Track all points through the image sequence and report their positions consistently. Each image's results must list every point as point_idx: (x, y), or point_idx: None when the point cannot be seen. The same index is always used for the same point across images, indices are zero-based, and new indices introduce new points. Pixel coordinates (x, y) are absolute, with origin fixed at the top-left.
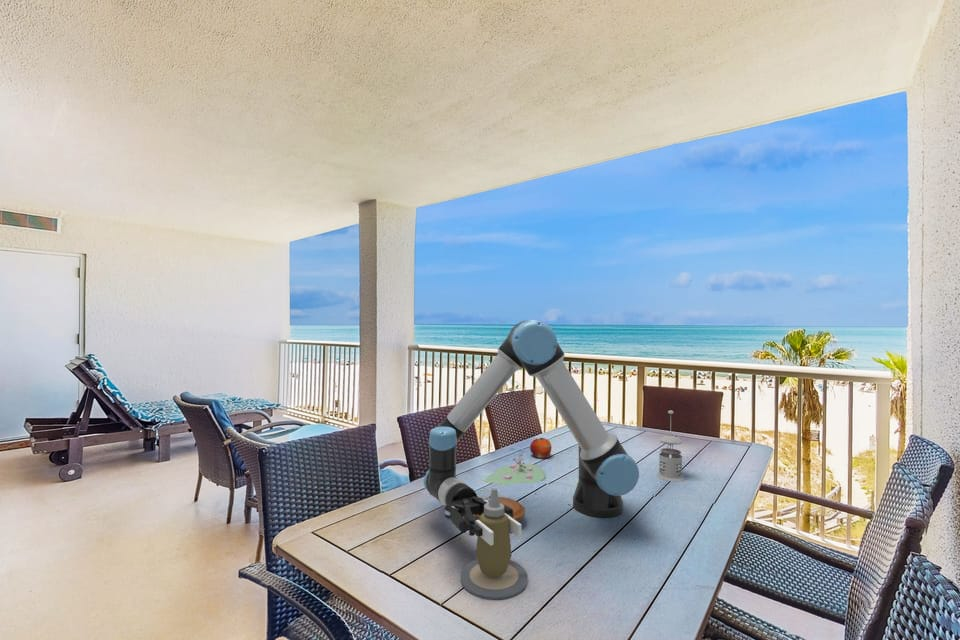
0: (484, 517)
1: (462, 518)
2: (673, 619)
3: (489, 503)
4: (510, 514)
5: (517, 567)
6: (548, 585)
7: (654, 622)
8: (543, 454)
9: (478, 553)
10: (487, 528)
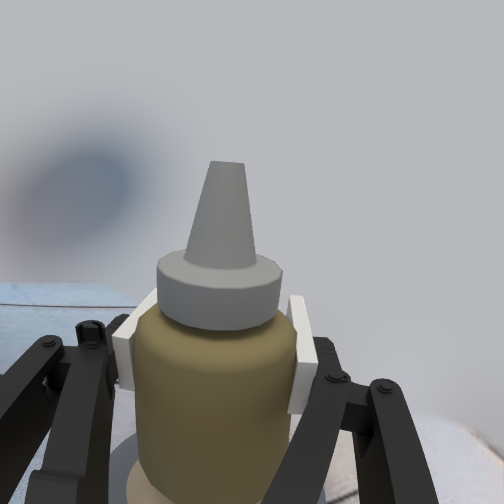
0: (280, 321)
1: (385, 410)
2: (94, 293)
3: (254, 247)
4: (73, 350)
5: (119, 468)
6: (123, 401)
7: (112, 300)
8: None
9: (287, 448)
10: (298, 309)
